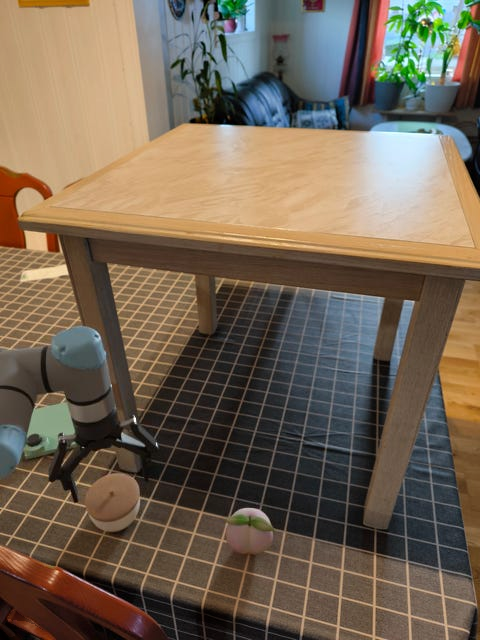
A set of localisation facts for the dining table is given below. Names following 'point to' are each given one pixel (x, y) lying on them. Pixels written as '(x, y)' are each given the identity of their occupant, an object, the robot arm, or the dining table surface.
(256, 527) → the decorative fruit
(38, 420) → the scale
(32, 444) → the button
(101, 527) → the trinket box
